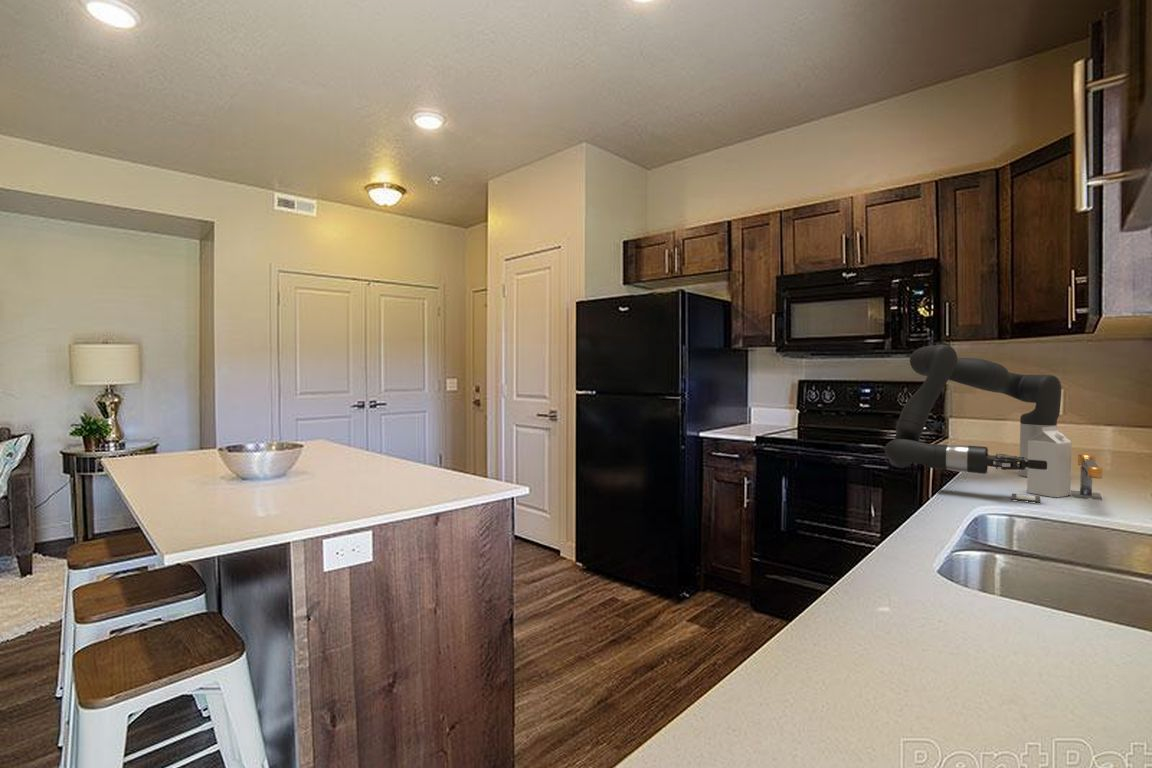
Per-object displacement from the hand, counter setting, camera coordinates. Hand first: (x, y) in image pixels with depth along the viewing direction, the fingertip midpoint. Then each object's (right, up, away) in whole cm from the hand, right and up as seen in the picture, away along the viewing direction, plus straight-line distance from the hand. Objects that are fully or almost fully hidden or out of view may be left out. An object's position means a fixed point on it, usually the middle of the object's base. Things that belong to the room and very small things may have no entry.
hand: (1046, 465), depth 147 cm
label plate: (-2, -10, +4) cm, 11 cm away
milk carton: (+9, -10, +11) cm, 17 cm away
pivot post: (+18, -10, +8) cm, 22 cm away
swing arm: (+11, -1, -1) cm, 11 cm away
